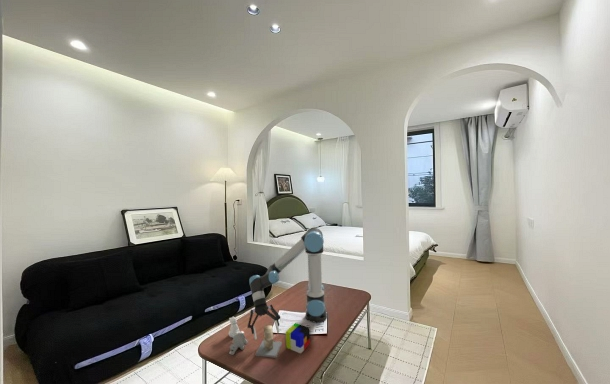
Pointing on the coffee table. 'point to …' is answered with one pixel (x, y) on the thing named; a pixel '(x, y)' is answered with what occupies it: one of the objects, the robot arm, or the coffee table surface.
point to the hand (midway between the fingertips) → (267, 335)
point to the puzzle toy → (297, 337)
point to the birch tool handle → (268, 337)
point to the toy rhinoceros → (238, 343)
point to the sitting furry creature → (234, 327)
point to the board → (269, 353)
